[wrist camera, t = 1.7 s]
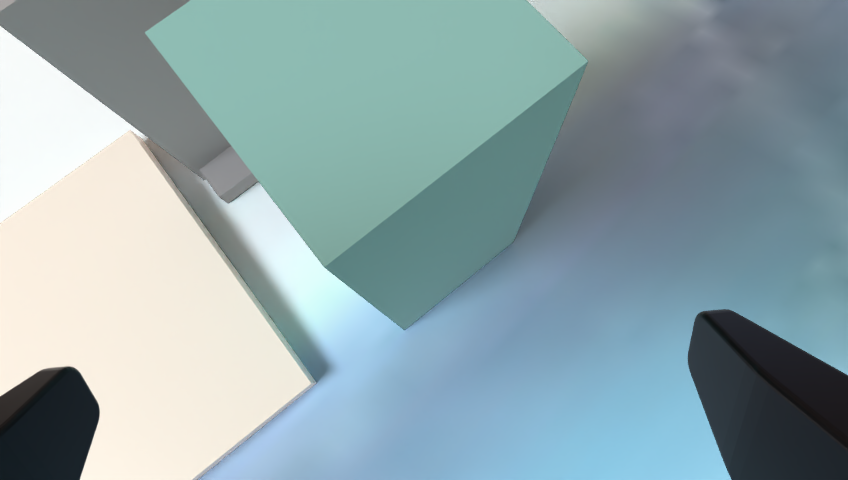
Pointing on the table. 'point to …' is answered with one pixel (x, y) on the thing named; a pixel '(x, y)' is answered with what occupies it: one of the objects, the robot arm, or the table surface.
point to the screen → (129, 76)
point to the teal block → (384, 126)
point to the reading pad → (140, 319)
